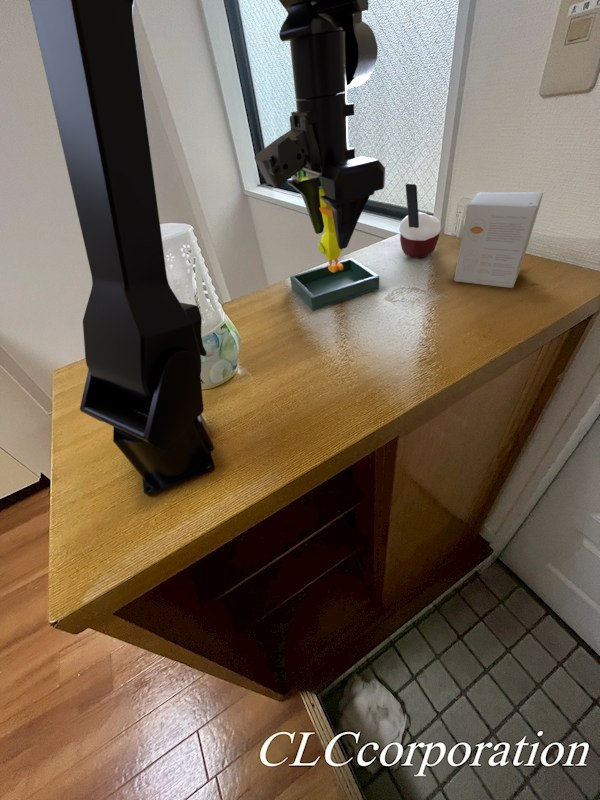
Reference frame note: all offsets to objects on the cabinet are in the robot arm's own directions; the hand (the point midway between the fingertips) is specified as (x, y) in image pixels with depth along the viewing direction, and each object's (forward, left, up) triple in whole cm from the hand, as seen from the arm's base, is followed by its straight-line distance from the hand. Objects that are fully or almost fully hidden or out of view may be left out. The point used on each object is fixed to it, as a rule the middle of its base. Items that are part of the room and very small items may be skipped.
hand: (330, 240), depth 49 cm
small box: (+20, -10, -8) cm, 24 cm away
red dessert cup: (+17, +3, -8) cm, 19 cm away
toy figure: (0, -1, -4) cm, 4 cm away
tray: (0, 0, -8) cm, 8 cm away
